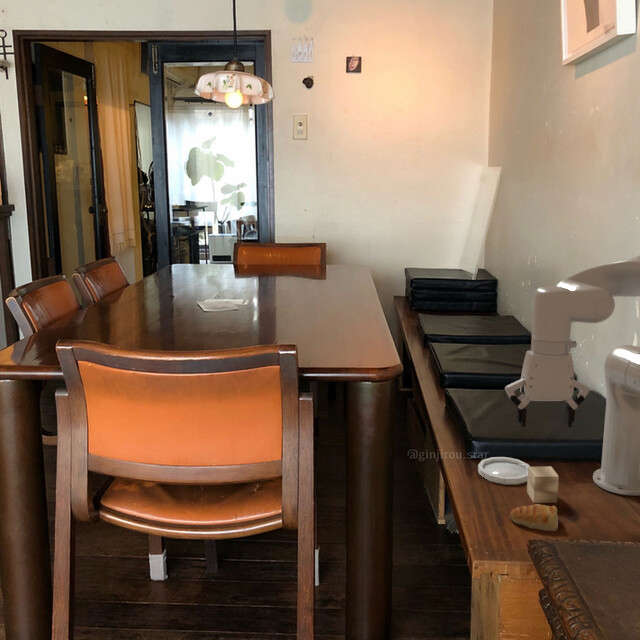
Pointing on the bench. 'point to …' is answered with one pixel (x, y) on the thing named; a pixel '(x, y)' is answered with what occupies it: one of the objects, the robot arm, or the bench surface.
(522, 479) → the dish
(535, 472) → the maple block
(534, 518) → the pastry
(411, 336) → the bench surface
